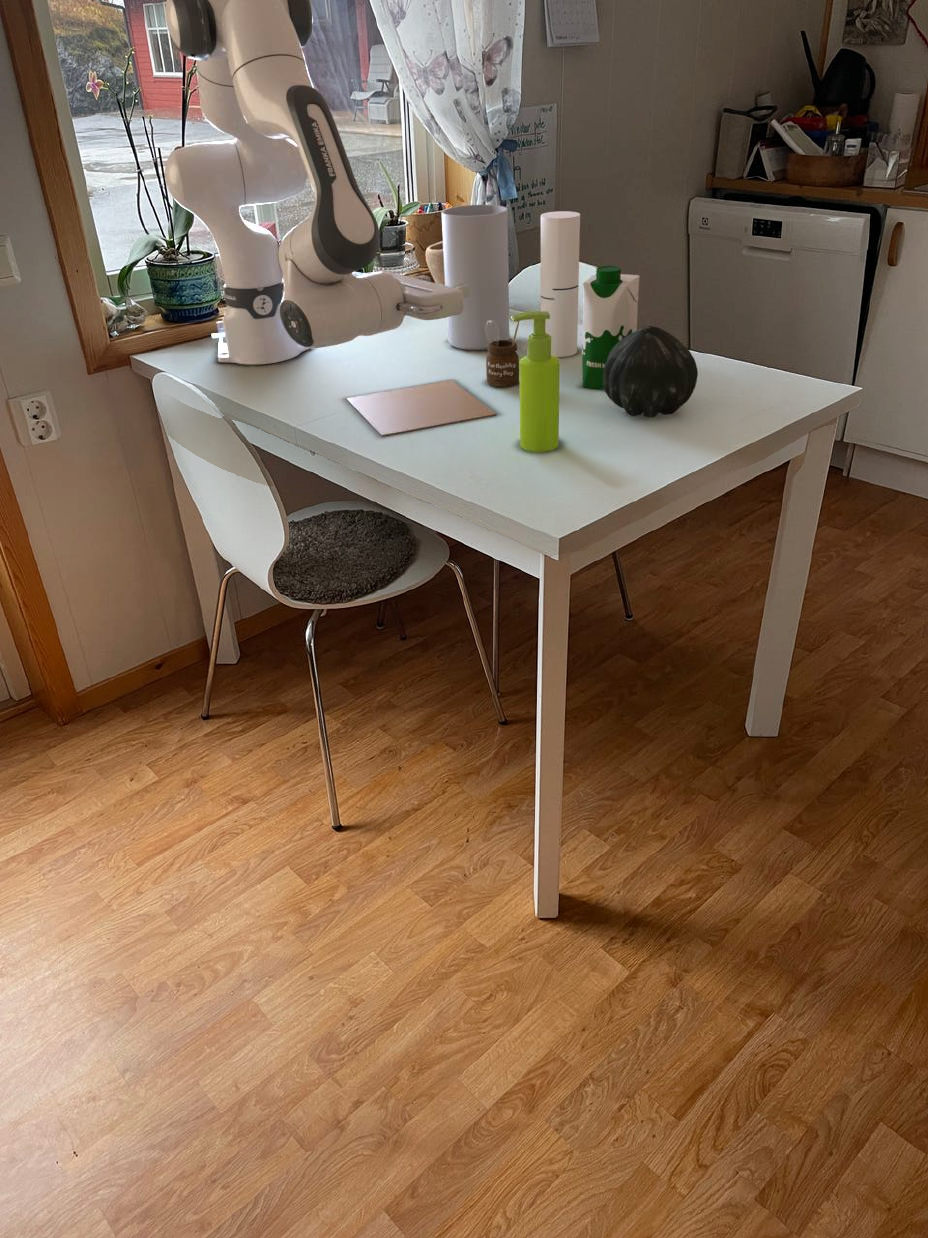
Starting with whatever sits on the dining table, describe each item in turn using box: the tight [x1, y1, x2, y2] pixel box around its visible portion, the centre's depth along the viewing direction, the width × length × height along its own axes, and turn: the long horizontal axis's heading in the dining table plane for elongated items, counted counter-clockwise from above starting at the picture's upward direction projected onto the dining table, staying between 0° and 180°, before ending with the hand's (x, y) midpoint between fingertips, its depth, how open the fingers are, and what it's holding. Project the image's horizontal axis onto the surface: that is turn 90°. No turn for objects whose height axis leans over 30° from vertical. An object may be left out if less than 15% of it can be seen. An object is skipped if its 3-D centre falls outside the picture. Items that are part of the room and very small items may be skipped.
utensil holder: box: [485, 320, 520, 388], centre depth 170 cm, size 6×6×12 cm
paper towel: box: [345, 379, 497, 437], centre depth 164 cm, size 20×20×1 cm
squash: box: [603, 325, 699, 419], centre depth 155 cm, size 14×15×15 cm
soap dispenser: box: [510, 310, 561, 453], centre depth 142 cm, size 6×7×20 cm
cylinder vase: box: [441, 204, 510, 351], centre depth 188 cm, size 12×12×25 cm
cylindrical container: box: [539, 210, 581, 358], centre depth 181 cm, size 7×7×25 cm
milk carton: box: [581, 265, 641, 390], centre depth 165 cm, size 9×9×20 cm
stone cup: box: [425, 240, 445, 285], centre depth 213 cm, size 15×12×15 cm
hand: (446, 285), depth 156 cm, fingers open, 8 cm apart
